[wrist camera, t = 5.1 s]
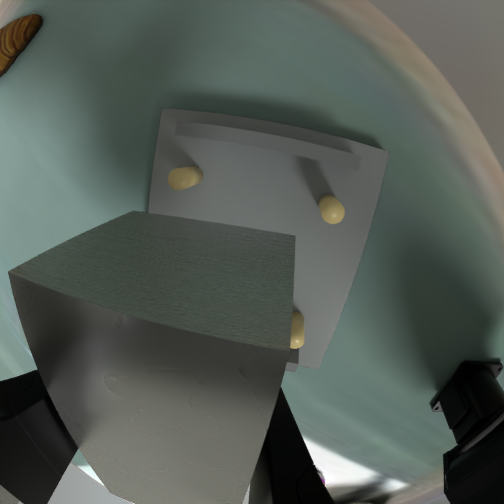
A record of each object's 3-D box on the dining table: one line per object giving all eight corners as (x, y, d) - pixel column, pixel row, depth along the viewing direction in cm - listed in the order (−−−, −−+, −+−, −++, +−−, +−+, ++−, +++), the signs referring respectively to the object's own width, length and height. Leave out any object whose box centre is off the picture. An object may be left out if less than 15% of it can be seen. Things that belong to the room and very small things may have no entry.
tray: (384, 151, 16) (403, 152, 12) (317, 361, 21) (318, 392, 18) (168, 109, 17) (142, 103, 14) (149, 317, 23) (129, 341, 19)
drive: (295, 235, 8) (290, 351, 3) (251, 441, 11) (231, 531, 7) (133, 210, 8) (8, 271, 4) (151, 415, 12) (110, 492, 7)
